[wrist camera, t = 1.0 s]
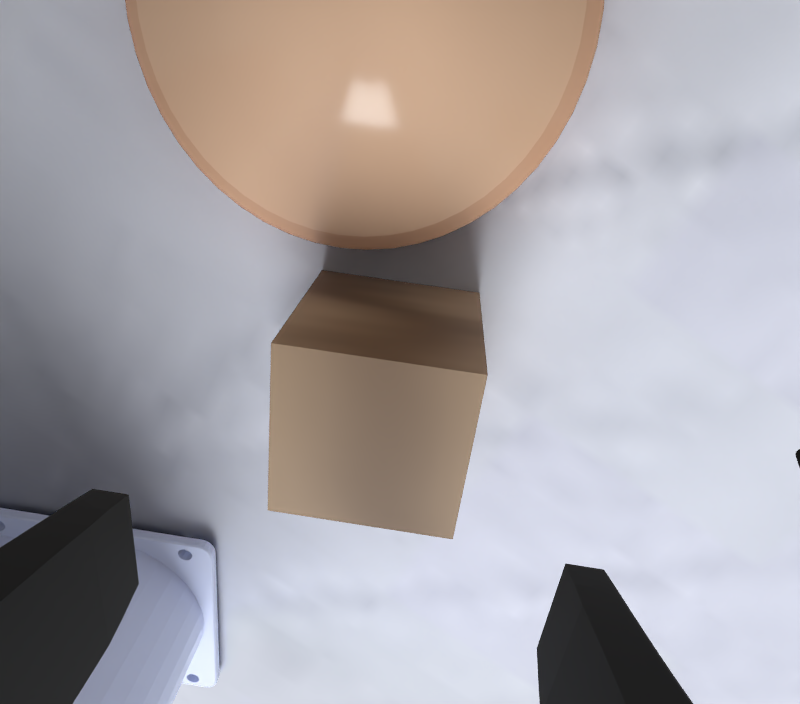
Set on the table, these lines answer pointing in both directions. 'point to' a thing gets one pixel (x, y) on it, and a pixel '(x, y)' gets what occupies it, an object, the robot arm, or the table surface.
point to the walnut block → (376, 403)
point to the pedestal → (366, 104)
